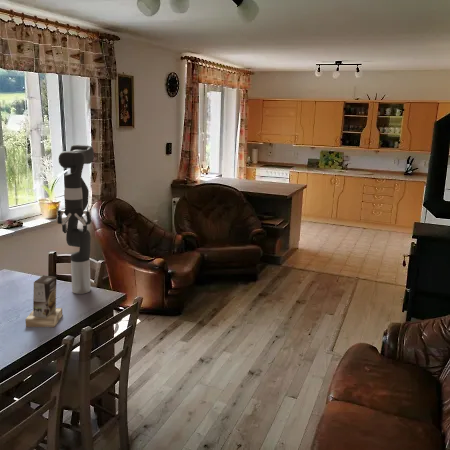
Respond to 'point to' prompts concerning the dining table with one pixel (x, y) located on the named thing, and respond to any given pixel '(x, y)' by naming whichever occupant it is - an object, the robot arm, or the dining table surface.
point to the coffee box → (44, 296)
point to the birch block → (44, 319)
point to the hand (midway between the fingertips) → (74, 233)
